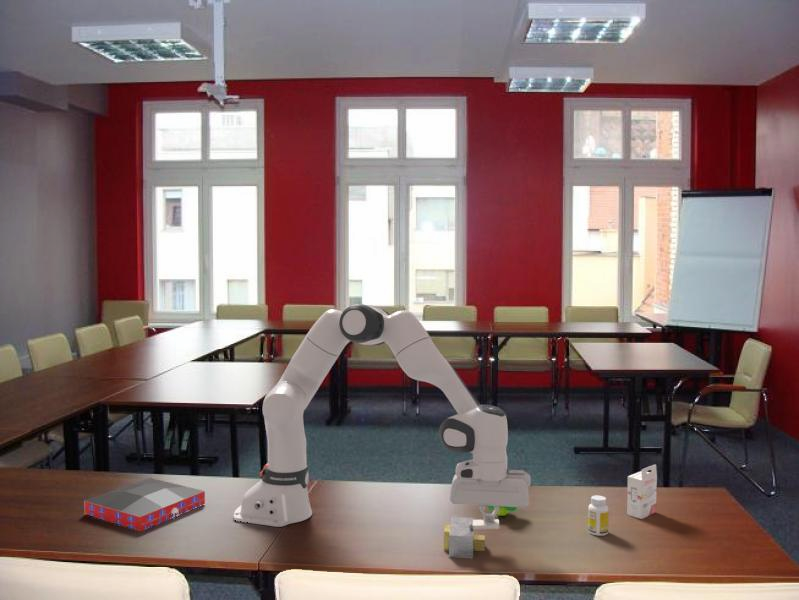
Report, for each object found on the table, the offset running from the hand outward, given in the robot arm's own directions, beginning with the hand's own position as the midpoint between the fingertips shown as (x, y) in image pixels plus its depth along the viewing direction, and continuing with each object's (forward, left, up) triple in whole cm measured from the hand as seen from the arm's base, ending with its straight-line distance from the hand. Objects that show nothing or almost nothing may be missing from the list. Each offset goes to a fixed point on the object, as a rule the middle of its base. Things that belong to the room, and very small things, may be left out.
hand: (488, 521), depth 184 cm
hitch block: (-7, 0, -7) cm, 10 cm away
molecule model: (+4, +24, -8) cm, 26 cm away
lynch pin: (-6, 0, -8) cm, 10 cm away
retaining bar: (-4, 0, -1) cm, 5 cm away
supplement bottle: (+30, +15, -8) cm, 34 cm away
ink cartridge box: (+45, +31, -8) cm, 55 cm away
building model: (-100, +14, -8) cm, 101 cm away
